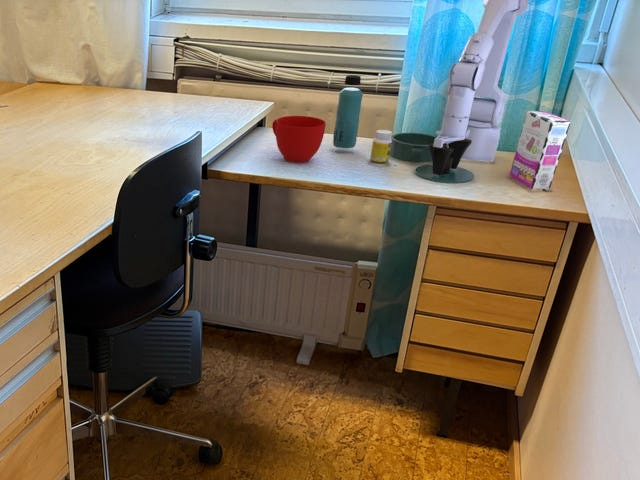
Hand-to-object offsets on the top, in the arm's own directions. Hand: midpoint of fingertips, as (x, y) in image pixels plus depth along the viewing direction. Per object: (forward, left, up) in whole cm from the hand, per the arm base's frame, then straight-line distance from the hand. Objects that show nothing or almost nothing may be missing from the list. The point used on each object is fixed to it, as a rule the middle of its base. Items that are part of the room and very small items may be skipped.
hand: (444, 171), depth 177 cm
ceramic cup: (+39, -6, -2) cm, 40 cm away
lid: (0, 0, -1) cm, 1 cm away
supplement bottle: (+16, -7, -2) cm, 18 cm away
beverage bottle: (+26, -17, -2) cm, 31 cm away
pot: (+7, -16, -2) cm, 18 cm away
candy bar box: (-20, 0, -2) cm, 20 cm away
